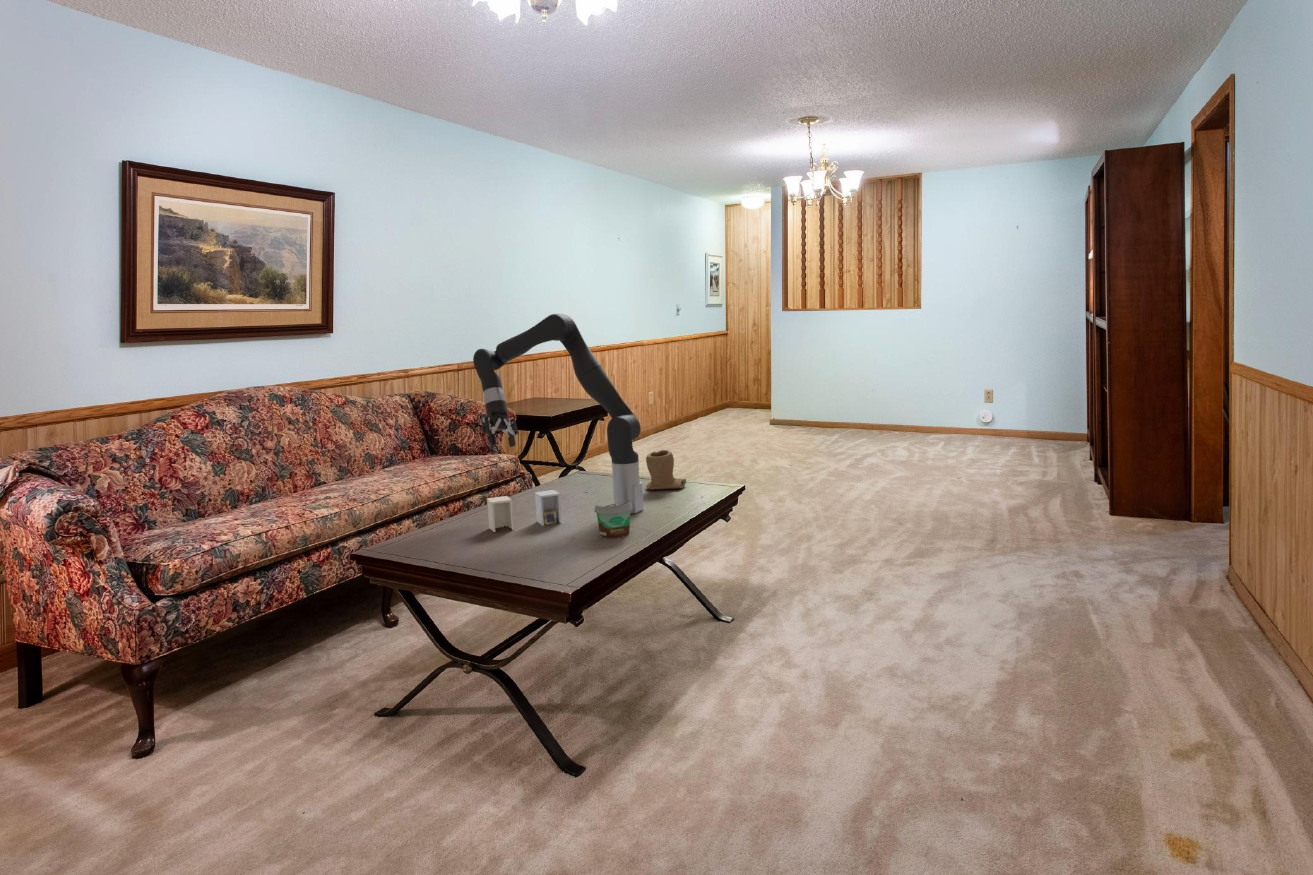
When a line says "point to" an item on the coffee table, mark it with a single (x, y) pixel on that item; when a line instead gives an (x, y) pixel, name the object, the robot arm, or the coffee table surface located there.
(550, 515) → the letter cube
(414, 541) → the coffee table surface
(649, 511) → the coffee table surface
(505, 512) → the cover
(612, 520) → the food container
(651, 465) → the brown boot-shaped piece
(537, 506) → the cover
